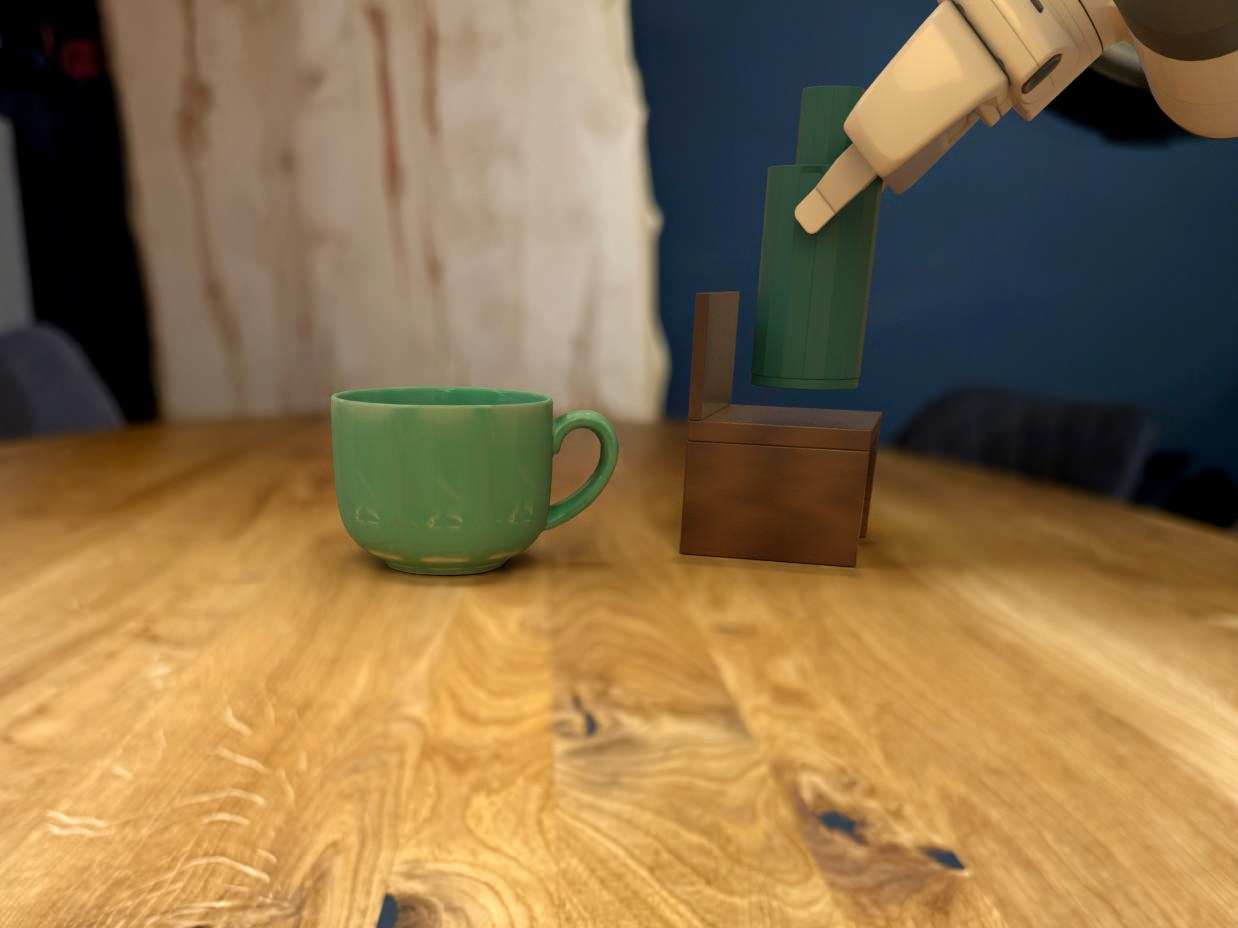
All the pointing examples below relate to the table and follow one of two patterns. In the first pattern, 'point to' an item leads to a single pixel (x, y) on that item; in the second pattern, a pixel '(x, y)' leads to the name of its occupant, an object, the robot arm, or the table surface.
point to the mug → (455, 473)
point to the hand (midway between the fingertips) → (809, 226)
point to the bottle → (814, 261)
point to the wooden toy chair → (769, 463)
